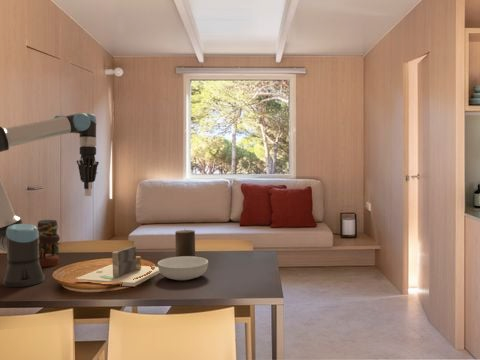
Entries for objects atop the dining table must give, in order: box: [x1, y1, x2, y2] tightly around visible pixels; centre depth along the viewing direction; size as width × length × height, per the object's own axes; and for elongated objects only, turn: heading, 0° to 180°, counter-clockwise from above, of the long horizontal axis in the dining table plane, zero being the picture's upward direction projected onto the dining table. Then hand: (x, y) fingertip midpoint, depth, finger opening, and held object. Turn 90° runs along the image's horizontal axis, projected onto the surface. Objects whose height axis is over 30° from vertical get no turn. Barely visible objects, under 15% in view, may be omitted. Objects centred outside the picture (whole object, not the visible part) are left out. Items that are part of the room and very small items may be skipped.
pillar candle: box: [175, 229, 196, 257], centre depth 226 cm, size 10×10×15 cm
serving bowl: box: [157, 256, 209, 281], centre depth 189 cm, size 21×21×7 cm
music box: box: [37, 223, 61, 268], centre depth 219 cm, size 15×11×20 cm
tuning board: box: [75, 263, 161, 287], centre depth 193 cm, size 26×27×2 cm
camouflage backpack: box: [37, 219, 59, 255], centre depth 243 cm, size 10×8×19 cm
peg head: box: [111, 246, 142, 278], centre depth 192 cm, size 17×4×10 cm, turn 159°
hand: (88, 195), depth 216 cm, fingers closed
